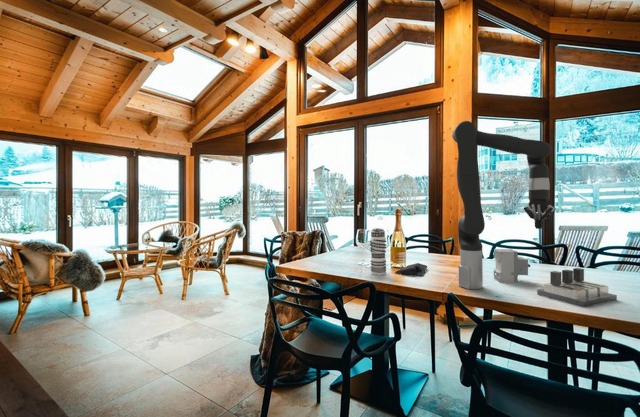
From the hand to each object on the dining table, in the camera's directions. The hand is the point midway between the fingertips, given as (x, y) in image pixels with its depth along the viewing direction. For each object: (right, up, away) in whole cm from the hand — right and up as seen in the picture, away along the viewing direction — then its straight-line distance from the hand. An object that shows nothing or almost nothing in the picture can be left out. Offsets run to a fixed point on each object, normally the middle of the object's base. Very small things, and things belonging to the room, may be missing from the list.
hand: (539, 228), depth 136 cm
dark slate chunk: (-43, -28, +41) cm, 65 cm away
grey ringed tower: (-63, -28, +39) cm, 79 cm away
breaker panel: (+8, -27, -10) cm, 30 cm away
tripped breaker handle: (0, -22, -10) cm, 24 cm away
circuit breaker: (-1, -27, +17) cm, 32 cm away
